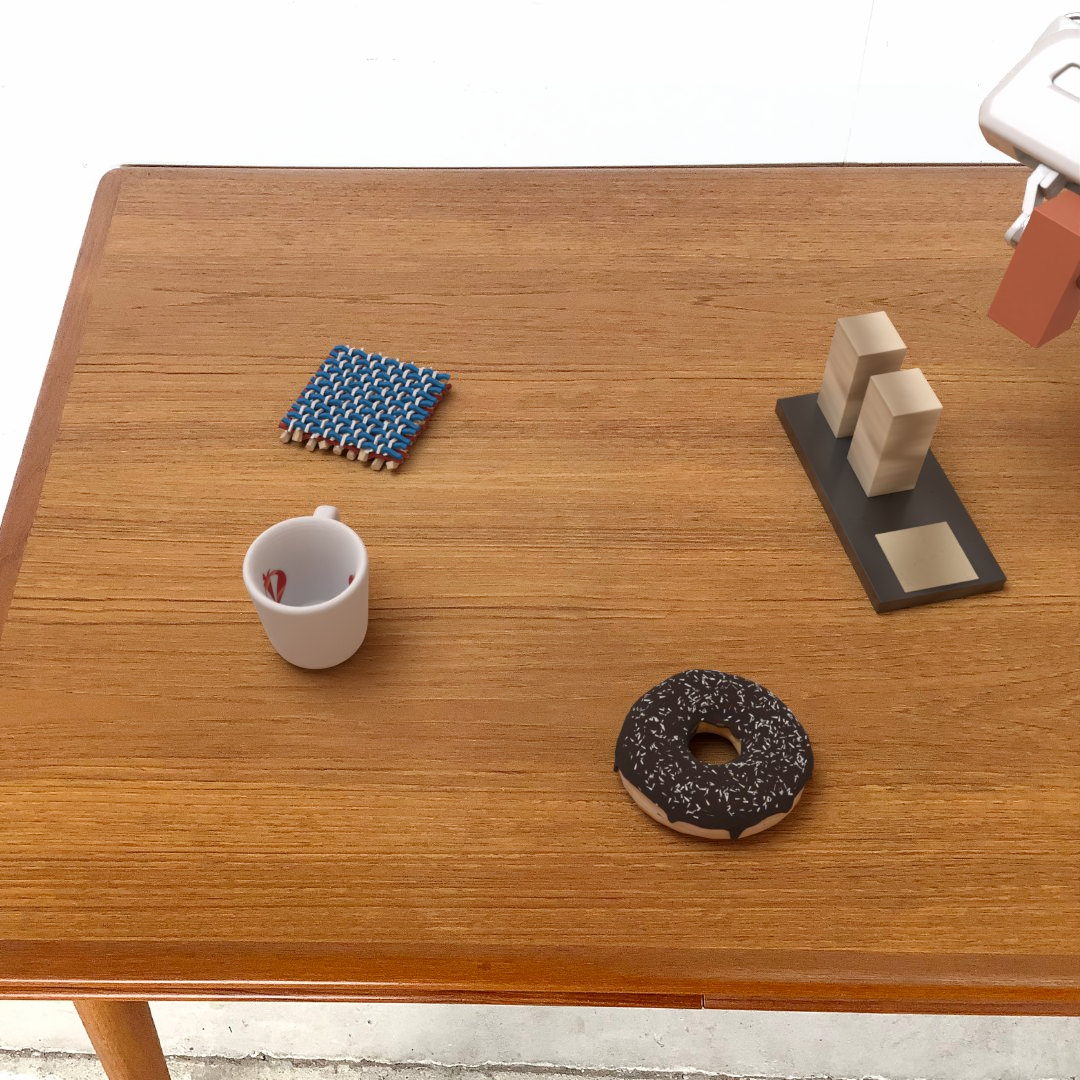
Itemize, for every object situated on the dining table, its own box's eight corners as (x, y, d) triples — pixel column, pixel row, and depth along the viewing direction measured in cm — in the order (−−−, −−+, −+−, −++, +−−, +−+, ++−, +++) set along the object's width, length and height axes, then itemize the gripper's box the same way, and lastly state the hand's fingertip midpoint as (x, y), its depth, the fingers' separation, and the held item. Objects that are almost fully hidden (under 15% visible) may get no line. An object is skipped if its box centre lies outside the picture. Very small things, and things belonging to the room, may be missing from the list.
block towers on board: (886, 390, 100) (915, 295, 93) (1002, 589, 89) (1046, 498, 81) (774, 410, 100) (794, 315, 92) (876, 613, 88) (909, 524, 80)
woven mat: (335, 355, 105) (332, 335, 104) (456, 388, 102) (455, 368, 101) (274, 441, 100) (270, 422, 98) (399, 479, 97) (397, 460, 95)
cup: (284, 554, 93) (267, 477, 87) (394, 564, 92) (385, 486, 86) (249, 679, 87) (228, 606, 80) (367, 690, 86) (355, 617, 79)
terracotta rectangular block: (1019, 296, 85) (1069, 188, 79) (1070, 329, 83) (1124, 221, 77) (985, 316, 84) (1033, 208, 78) (1036, 349, 82) (1089, 241, 76)
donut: (638, 675, 86) (643, 640, 82) (820, 719, 83) (833, 684, 80) (597, 819, 79) (600, 787, 76) (792, 871, 77) (804, 840, 74)
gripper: (1063, -29, 79) (907, 168, 82) (1384, 125, 69) (1189, 341, 73) (1078, 23, 84) (930, 206, 88) (1378, 174, 74) (1197, 372, 78)
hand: (1050, 269), depth 80 cm, fingers closed on terracotta rectangular block, 4 cm apart
